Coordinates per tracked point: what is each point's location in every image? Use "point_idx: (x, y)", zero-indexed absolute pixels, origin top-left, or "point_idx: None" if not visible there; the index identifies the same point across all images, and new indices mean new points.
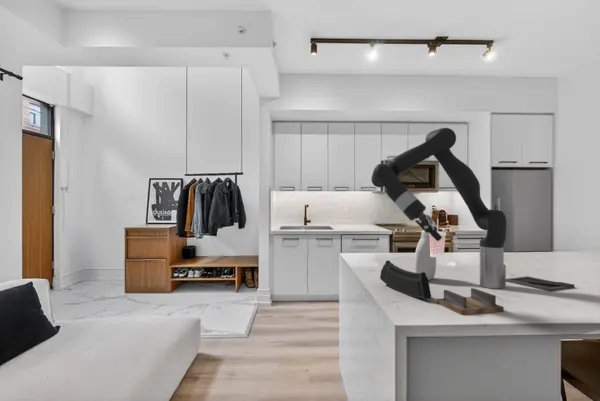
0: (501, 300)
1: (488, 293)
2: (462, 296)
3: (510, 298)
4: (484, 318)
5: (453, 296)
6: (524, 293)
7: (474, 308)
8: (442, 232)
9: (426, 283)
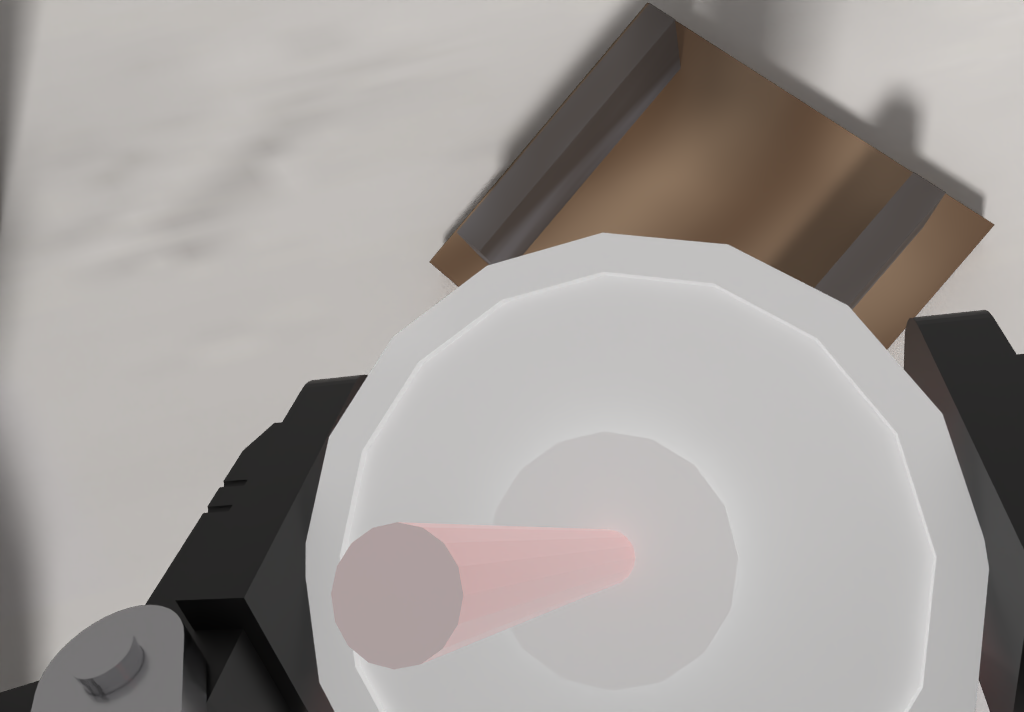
0: (327, 117)
1: (596, 72)
2: (888, 217)
3: (233, 84)
4: (955, 73)
5: None
6: (39, 48)
7: (855, 156)
8: (450, 412)
9: None
